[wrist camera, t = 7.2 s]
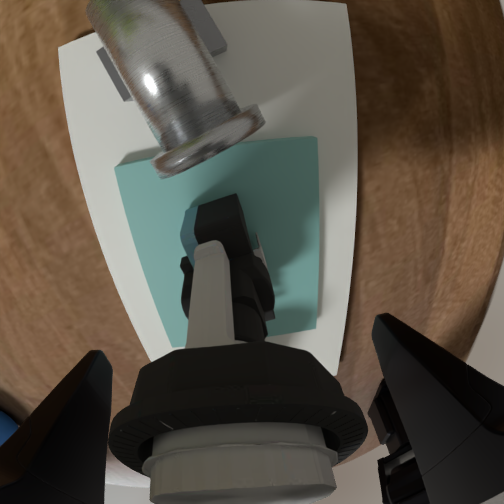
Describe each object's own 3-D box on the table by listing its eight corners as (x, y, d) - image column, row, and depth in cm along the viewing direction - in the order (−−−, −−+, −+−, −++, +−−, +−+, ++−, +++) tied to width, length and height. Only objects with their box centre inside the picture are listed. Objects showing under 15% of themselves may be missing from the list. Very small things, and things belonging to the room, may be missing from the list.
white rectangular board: (339, 8, 9) (351, 0, 8) (333, 366, 20) (338, 381, 19) (66, 49, 8) (51, 46, 7) (171, 388, 20) (170, 403, 18)
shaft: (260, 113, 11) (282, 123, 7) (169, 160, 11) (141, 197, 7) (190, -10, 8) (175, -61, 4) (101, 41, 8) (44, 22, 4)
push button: (303, 299, 14) (370, 497, 6) (203, 328, 15) (204, 526, 6) (269, 171, 11) (401, 423, 2) (143, 214, 11) (41, 461, 3)
